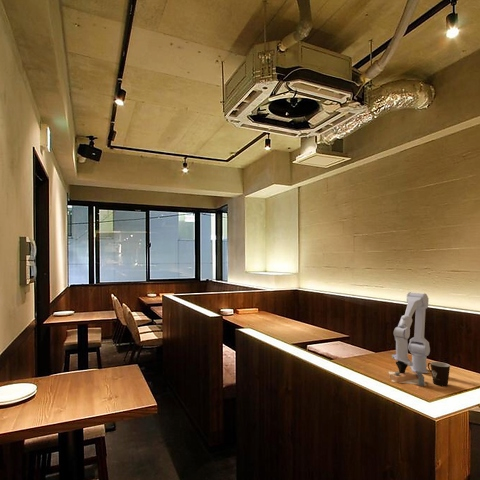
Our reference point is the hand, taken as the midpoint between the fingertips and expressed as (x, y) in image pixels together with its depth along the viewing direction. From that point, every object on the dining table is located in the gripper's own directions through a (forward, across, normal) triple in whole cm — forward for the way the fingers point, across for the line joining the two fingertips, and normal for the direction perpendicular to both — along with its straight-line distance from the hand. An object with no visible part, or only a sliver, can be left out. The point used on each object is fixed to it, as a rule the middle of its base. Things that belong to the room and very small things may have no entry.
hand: (402, 375), depth 182 cm
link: (+1, +2, 0) cm, 3 cm away
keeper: (+1, +8, +4) cm, 9 cm away
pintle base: (+1, +1, +2) cm, 2 cm away
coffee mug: (+1, +10, +14) cm, 17 cm away
